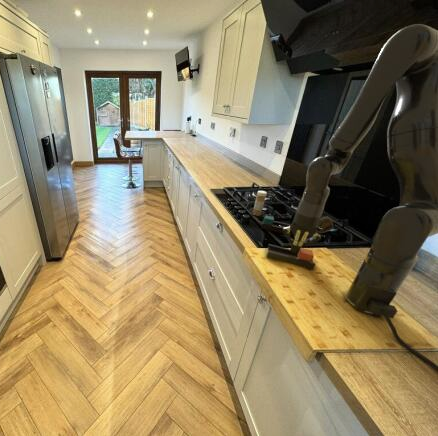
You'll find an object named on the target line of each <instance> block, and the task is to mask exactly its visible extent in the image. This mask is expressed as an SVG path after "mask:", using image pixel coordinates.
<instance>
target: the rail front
mask: <svg viewBox="0 0 438 436" xmlns="http://www.w3.org/2000/svg"><path fill="white" fill-rule="evenodd" d="M267 246H268V247H267V250H266V255H265V256H266V258H268V259H271V260H274V261H278V262H282V263H285V264H289V265H293V266H297V267H300V268H304V269H308V270H311V271H314V269H315V266H316V263H315V262H314V257H315V256H314V254H313V257H312V260H311V262H309V261H305V260H302V259H298V253H297V254H293V253H292V252H291V248H287V247H282V246H278V245H275V244H270V243H268V245H267Z"/></svg>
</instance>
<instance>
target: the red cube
mask: <svg viewBox="0 0 438 436" xmlns="http://www.w3.org/2000/svg"><path fill="white" fill-rule="evenodd" d="M313 255H314V253H313V249H309V248H308V249H307V248H304V247H301V248H300V251H299V253H298V259H302V260H305V261H309V262H311V260H312V257H313ZM313 258H314V257H313Z"/></svg>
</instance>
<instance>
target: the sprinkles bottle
mask: <svg viewBox="0 0 438 436" xmlns="http://www.w3.org/2000/svg"><path fill="white" fill-rule="evenodd" d="M267 195H268V192H267V191H265V190H258V191H257V193H256V198H255V201H254V206H253V210H252V215H254V216H256V217H260V216H261V215H262V211H263V209H264V205H265V200H266V197H267ZM253 212H254V213H253Z"/></svg>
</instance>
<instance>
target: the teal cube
mask: <svg viewBox="0 0 438 436" xmlns="http://www.w3.org/2000/svg"><path fill="white" fill-rule="evenodd" d="M263 219H264V221H263V220H262V221H263V223H265V224H269V225H272V224H273V221H275V217H274V216H271V215H264V218H263Z"/></svg>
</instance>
